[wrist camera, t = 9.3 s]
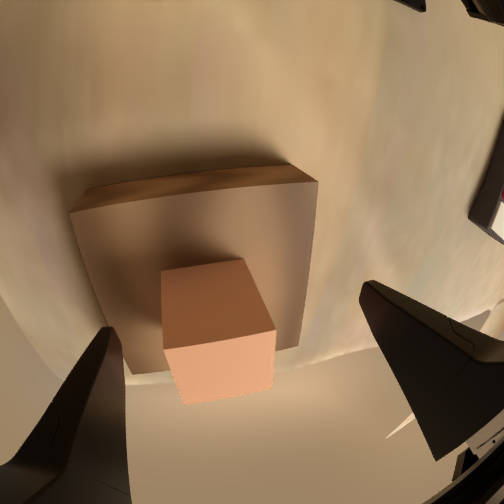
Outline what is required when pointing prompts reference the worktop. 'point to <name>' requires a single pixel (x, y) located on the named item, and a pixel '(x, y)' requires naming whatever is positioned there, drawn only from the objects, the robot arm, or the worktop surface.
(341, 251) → the worktop surface
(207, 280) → the terracotta block
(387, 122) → the worktop surface
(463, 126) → the worktop surface
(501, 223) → the red white black box
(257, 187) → the walnut base
